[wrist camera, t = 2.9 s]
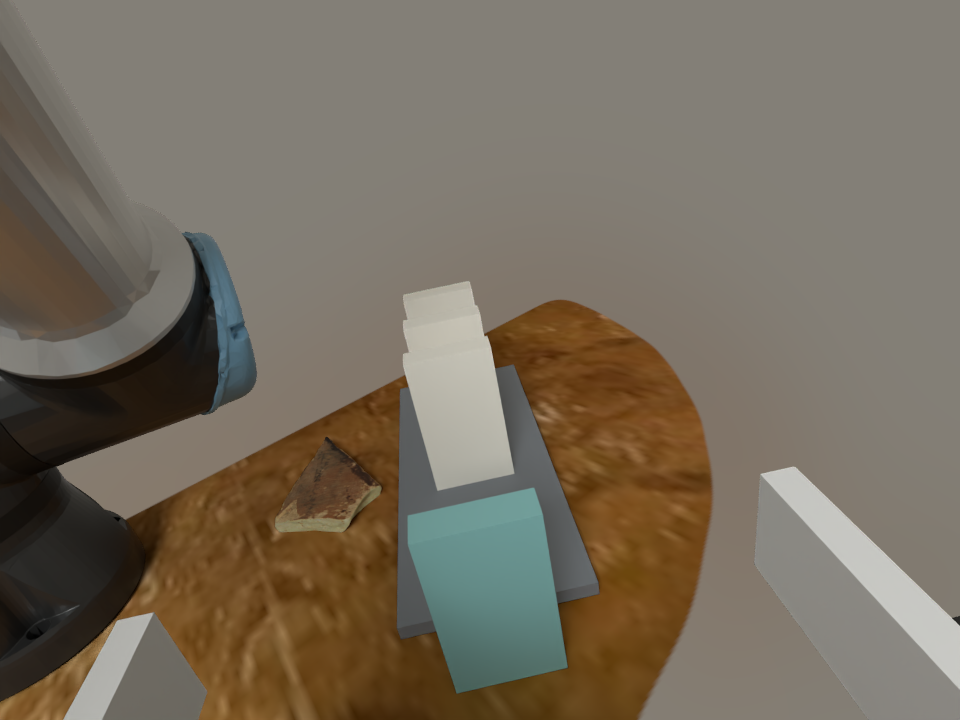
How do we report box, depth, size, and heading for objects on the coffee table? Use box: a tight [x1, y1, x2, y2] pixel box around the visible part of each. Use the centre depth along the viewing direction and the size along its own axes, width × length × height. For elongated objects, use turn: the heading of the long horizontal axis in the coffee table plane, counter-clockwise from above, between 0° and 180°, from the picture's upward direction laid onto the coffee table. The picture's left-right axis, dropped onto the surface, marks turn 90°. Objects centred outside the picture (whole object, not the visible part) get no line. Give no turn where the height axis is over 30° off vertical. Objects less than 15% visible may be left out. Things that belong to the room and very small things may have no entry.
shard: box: [275, 437, 382, 532], centre depth 46 cm, size 11×8×2 cm
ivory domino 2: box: [403, 305, 484, 352], centre depth 45 cm, size 6×2×11 cm, turn 98°
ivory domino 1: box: [403, 281, 475, 320], centre depth 51 cm, size 6×2×11 cm, turn 98°
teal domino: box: [408, 488, 568, 693], centre depth 27 cm, size 6×2×11 cm, turn 98°
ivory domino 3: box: [403, 336, 514, 491], centre depth 40 cm, size 6×2×11 cm, turn 98°
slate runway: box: [397, 365, 599, 639], centre depth 45 cm, size 12×28×1 cm, turn 8°
